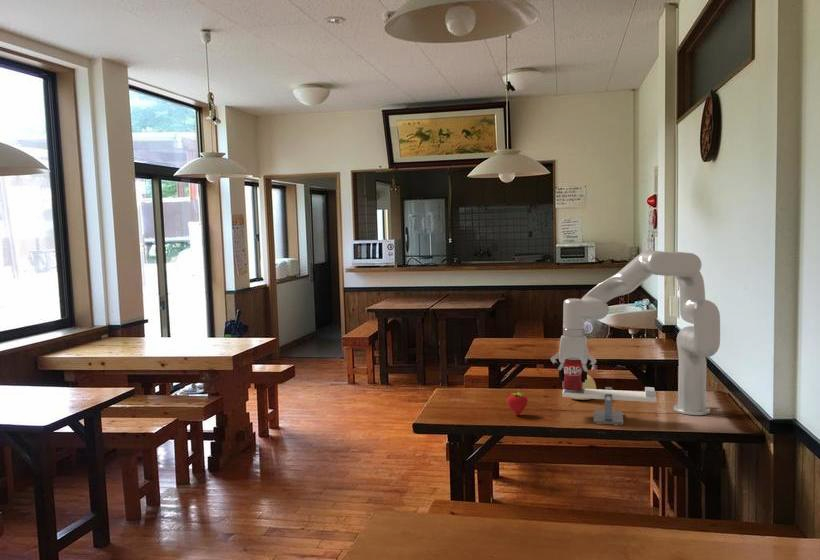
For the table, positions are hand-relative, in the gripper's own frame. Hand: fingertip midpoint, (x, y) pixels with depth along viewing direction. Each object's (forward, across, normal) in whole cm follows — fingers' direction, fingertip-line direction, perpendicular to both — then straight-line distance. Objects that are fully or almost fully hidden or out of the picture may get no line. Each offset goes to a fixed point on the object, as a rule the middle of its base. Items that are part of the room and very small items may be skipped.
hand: (572, 380), depth 245 cm
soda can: (+4, 0, 0) cm, 4 cm away
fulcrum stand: (+13, -13, 0) cm, 18 cm away
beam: (+4, -12, 0) cm, 13 cm away
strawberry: (+14, +20, +2) cm, 24 cm away
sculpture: (+14, -2, -27) cm, 31 cm away
